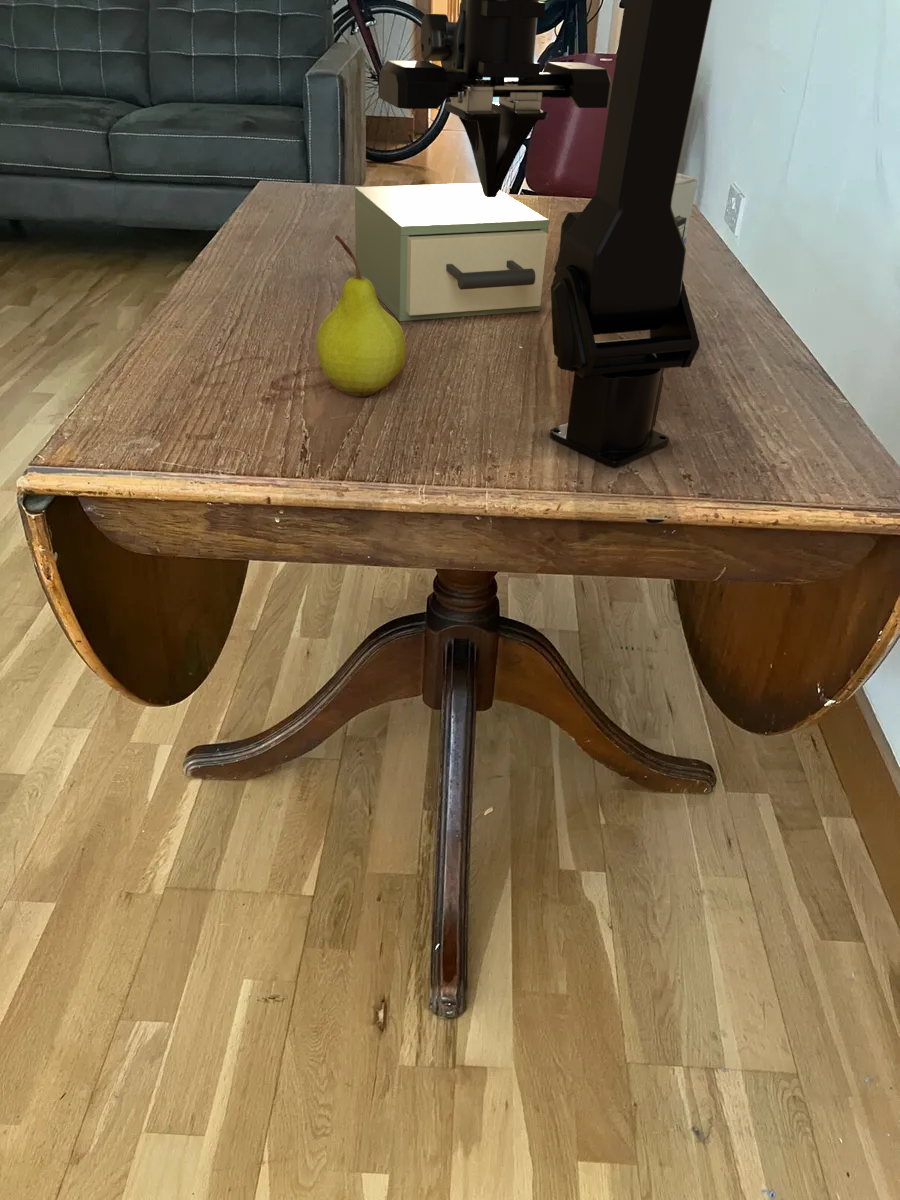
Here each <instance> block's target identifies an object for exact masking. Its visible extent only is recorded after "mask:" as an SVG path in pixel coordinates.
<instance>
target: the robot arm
mask: <svg viewBox="0 0 900 1200" xmlns="http://www.w3.org/2000/svg"><path fill="white" fill-rule="evenodd" d="M712 2H713V0H624V7H623V14H622V19H621V26H620V33H619V37H618V38H619V40H618V44H617V45H618V46H617V52H616V59H615V64H614V65H615V66H614V73H613V77H612V78H613V79H612V78H611V75H610V73H609V71H608V69H607V68H603V67H600V66H598V65H597V66H596V65H593V64H589V63H586V62H570V61H569V62H565V61H564V62H561V61H560V62H559V61H556V62H554V61H553V62H552V61H548V62H547V63H546V65H545V66H544V69H543V71H542V72H541V71H540V69H541V63H540V62H536V61H535V50H536V41H537V28H538V27H537V26H538V19H544V18H545V12H546V2H543V1H540V0H460V3H459V10H458V11H459V13H458V18H457V20H456V21H449V17H448V15H447V14H445V13H425V14H424V15H423V16H422V17H421V23H420V51H421V53H420V54H421V58H422V60H386V62H385V63H384V64H383V66H382V67H381V69H380V72H379V75H378V76H379V77H378V79H379V80H378V85H379V86H378V87H379V88H378V89H379V90H378V91H379V92H378V95H379V97H378V98H379V99H380V100H382V101H384V102H386V103H388V104H389V105H391V106H393V107H395V108H398V109H402V110H403V109H405V110H438V109H439V108H440V107H441V106H442V104H443V103H444V107H445V111H446V112H448V113H451V114H452V115H454V116H456V117H458V119H459V121H460V122H461V124H462V126H463V128H464V130H465V134H466V135H467V138H468V141H469V143H470V147H471V151H472V154H473V158H474V163H475V167H476V170H477V174H478V178H479V179H478V180H479V183H481V186H482V190H483V194H484V196H486V197H496V196H497V194H498V192H499V190H500V189H501V188H502V186H503V184H504V182H505V180H506V178H507V176H508V173H509V171H510V170H511V168H512V166H513V163H514V162H515V159H516V157H517V155H518V153H519V151H520V150H521V148H522V146H523V145H524V144H525V142H526V141H527V138H528V137H529V135H530V133H531V132H532V130H533V129H534V127H535V126H536V124H537V122H539V121H545V120H547V119H548V111H545V110H543V109H541V108H542V103H543V98H550V99H553V98H554V99H562V98H563V99H570V100H571V102H572V103H573V104H574V105H575V107H576V108H579V109H608V111H607V118H606V124H605V129H604V137H603V144H602V150H601V156H600V164H599V170H598V177H597V184H596V188H595V192H594V195H593V196H592V197H591V199H590V201H589V202H588V203H587V205H586V206H585V207H584V208H583V210H581V211H570V212H567V214H566V215H565V218H564V219H563V221H562V223H561V226H560V239H559V240H560V241H559V250H558V255H557V260H556V263H555V266H554V276H553V279H552V283H551V286H550V302H551V303H550V306H551V327H552V330H551V331H552V344H553V354H554V356H555V357H556V358H557V363H556V366H557V367H558V368H559V369H560V370H563V371H569V372H574V373H573V380H572V385H571V395H570V401H569V402H570V403H569V410H568V418H567V423H563V424H561V425H558V426H556V427H552V428H551V429H549V437H550V438H551V439H553V440H555V441H556V442H559V443H561V444H563V445H565V446H567V447H570V448H572V449H574V450H575V451H577V452H580V453H582V454H584V455H586V456H589V457H590V458H592V459H594V460H597V461H599V462H600V463H602V464H605V465H607V466H609V467H612V468H617V467H618V468H619V467H621V466H624V465H626V464H627V463H631V462H633V461H635V460H637V459H639V458H641V457H644V456H647V455H648V454H650V453H653V452H655V451H657V450H659V449H662V448H664V447H666V446H668V445H669V442H670V437H669V436H667V435H665V434H664V433H660V432H659V431H656V430H654V428H655V426H656V422H657V416H658V409H659V404H660V400H661V394H662V390H663V385H664V384H663V383H664V371H665V369H673V368H682V369H685V368H690V367H691V365H692V363H693V361H694V359H695V356H696V355H697V352H698V350H699V348H700V339H699V335H698V332H697V328H696V324H695V320H694V317H693V312H692V309H691V305H690V301H689V298H688V295H687V294H688V293H687V290H686V286H685V283H684V270H685V262H686V255H687V254H686V253H687V248H686V244H685V245H684V242H683V239H682V236H681V234H680V231H679V228H678V225H677V222H676V220H675V217H674V214H673V211H672V207H671V205H672V197H673V192H674V187H675V182H676V177H677V173H679V166H680V162H681V157H682V152H683V147H684V141H685V136H686V133H687V127H688V122H689V118H690V113H691V107H692V102H693V97H694V92H695V89H696V83H697V76H698V73H699V68H700V63H701V57H702V52H703V47H704V42H705V37H706V32H707V28H708V23H709V17H710V12H711V8H712ZM433 62H440V63H441V64H440V65H438V64H436V63H433ZM484 78H489V79H484ZM448 98H449V99H450V102H448V101H447V102H445V101H446V100H447V99H448ZM494 98H498V101H494ZM500 191H501V190H500ZM647 331H649V336H645V337H634V338H625V339H613V340H602V341H596V339H595V336H598V335H600V336H601V335H610V334H621V333H622V334H623V333H632V332H647Z"/></svg>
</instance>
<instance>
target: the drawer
mask: <svg viewBox="0 0 900 1200" xmlns="http://www.w3.org/2000/svg"><path fill="white" fill-rule="evenodd" d="M548 235H549V233H548V234H547V233H546V232H544V231H543V230H541V231H530V230H509V231H488V232H468V233H447V234H426V235H409V237H408V238H407V287H406V312H407V313H408V314H409V315H410V316H412V315H425V314H439V313H452V312H465V311H479V310H492V309H505V308H518V307H532V306H540V307H541V305H542V294H543V285H544V276H543V275H545V266H546V265H545V264H546V254H547V247H548V246H547V245H548V237H547V236H548Z"/></svg>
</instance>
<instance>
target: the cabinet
mask: <svg viewBox="0 0 900 1200" xmlns="http://www.w3.org/2000/svg"><path fill="white" fill-rule="evenodd" d="M354 217H355V218H354V229H355V230H354V235H355V236H354V237H355V238H354V239H355V260H356V262H357V265H358V268H359V271H360V276H362V277H365V278H367V279H368V280H369V281H370V282H371V283H372V285H373V287H374V288H375V292H376V295H377V299H378V300H380V301H381V302H382V304H383V305H384V306H385V307H386V308H387V310H389V311H390V313H391V314H392V315H393V316H394V318H395V319H397V321H398V322H409V321H421V320H434V319H435V320H436V319H447V318H449V319H450V318H460V317H462V318H463V317H472V316H473V317H474V316H488V315H499V314H513V313H515V314H516V313H524V312H525V313H527V312H539V311H541V305H540V306H532V307H518V308H505V309H492V310H479V311H465V312H452V313H439V314H425V315H412V316H410V315H409V314H408V313H407V312H406V287H407V238H408V237H409V235H426V234H447V233H468V232H488V231H509V230H530V231H541V230H543V231H544V232H546V233H547V234H548V235H549V228H550V227H549V226H550V219H549V218H547V217H546V216H543V215H542V214H540V213H538V212H537V211H535V210H533V209H532V208H530V207H528V206H527V205H525V204H523V203H521V202H520V201H519V200H517V199H515V198H513V197H512V196H510V195H508V194H507V193H505V192H504V191H501V190H499V192H498V194H497V196H496V197H486V196H484V194H483V190H482V186H481V182H473V183H472V182H471V183H470V182H469V183H446V184H445V183H440V184H439V183H437V184H410V185H409V184H408V185H378V186H377V185H376V186H373V185H372V186H355V187H354ZM547 238H548V236H547ZM544 275H545V274H544ZM544 275H543V277H544Z"/></svg>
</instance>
